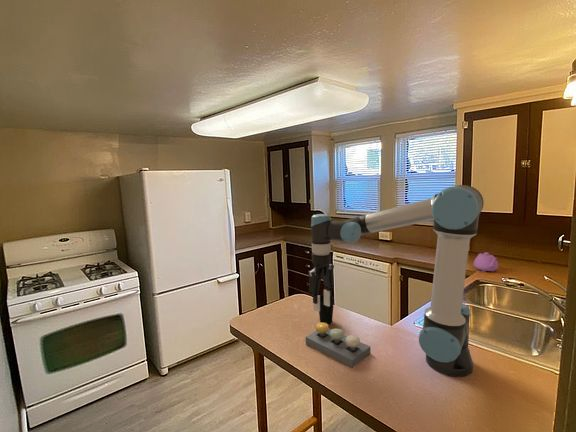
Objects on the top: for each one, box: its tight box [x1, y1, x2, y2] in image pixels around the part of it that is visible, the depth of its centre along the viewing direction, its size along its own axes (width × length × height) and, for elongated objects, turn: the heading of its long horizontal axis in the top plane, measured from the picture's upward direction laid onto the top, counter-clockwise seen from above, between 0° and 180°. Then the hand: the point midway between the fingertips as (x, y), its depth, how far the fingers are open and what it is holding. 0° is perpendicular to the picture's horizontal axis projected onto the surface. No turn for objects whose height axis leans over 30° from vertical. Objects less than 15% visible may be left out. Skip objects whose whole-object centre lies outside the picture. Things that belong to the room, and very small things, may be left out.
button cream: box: [346, 334, 361, 351], centre depth 117 cm, size 5×5×4 cm
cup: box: [318, 294, 335, 325], centre depth 144 cm, size 8×8×12 cm
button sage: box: [330, 328, 344, 344], centre depth 122 cm, size 5×5×4 cm
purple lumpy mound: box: [473, 251, 499, 273], centre depth 210 cm, size 20×14×12 cm
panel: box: [305, 328, 372, 368], centre depth 123 cm, size 23×12×3 cm, turn 44°
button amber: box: [315, 322, 330, 337], centre depth 128 cm, size 5×5×4 cm
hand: (321, 307), depth 126 cm, fingers open, 6 cm apart
